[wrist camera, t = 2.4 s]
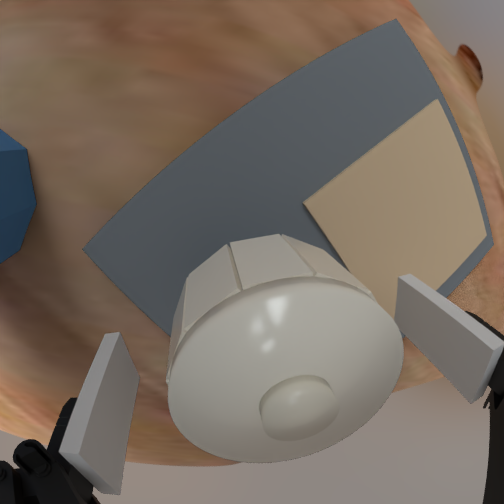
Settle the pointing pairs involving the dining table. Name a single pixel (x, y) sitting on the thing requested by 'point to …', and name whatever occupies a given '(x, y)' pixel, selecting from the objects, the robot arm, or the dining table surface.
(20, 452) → the robot arm
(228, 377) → the cap
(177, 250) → the board
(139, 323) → the dining table surface
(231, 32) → the dining table surface
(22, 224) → the water bottle
